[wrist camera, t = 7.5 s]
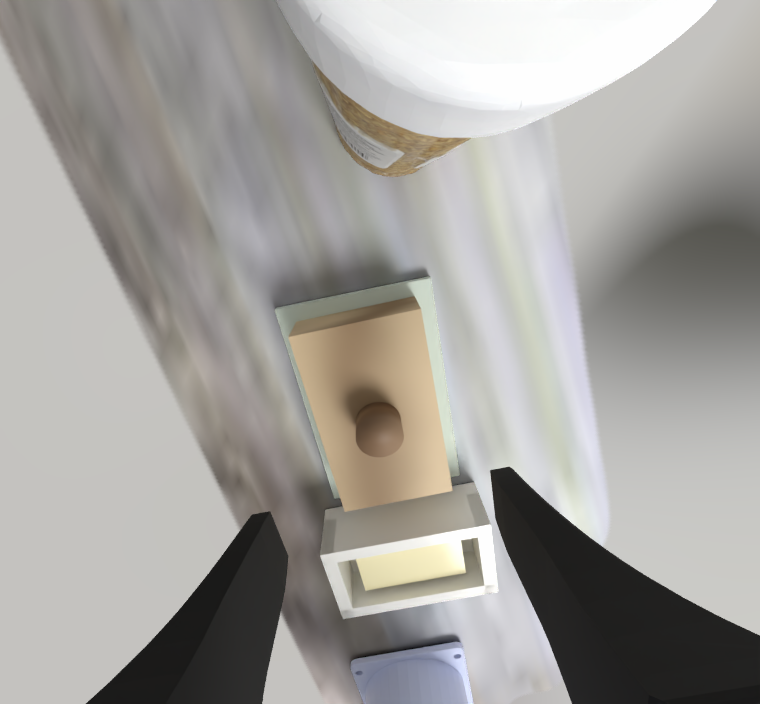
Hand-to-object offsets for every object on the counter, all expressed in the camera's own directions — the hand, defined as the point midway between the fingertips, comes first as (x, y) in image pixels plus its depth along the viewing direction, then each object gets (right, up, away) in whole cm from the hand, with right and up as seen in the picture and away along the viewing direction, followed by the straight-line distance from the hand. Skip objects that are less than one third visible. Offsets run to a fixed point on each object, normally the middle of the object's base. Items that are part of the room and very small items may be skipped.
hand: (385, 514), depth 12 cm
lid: (0, +3, +7) cm, 7 cm away
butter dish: (+1, -5, +10) cm, 12 cm away
